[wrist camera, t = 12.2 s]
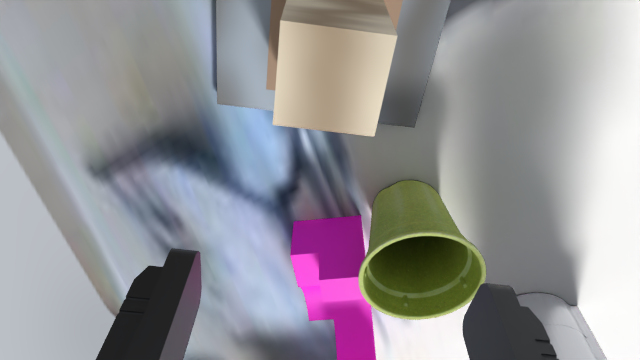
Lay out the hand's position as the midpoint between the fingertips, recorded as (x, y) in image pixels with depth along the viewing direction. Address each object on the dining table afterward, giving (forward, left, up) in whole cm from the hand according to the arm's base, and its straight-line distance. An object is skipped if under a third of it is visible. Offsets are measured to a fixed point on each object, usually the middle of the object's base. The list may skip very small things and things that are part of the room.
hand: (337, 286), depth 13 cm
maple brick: (0, -2, -16) cm, 17 cm away
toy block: (-4, +24, -23) cm, 33 cm away
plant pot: (-9, +14, -23) cm, 28 cm away
